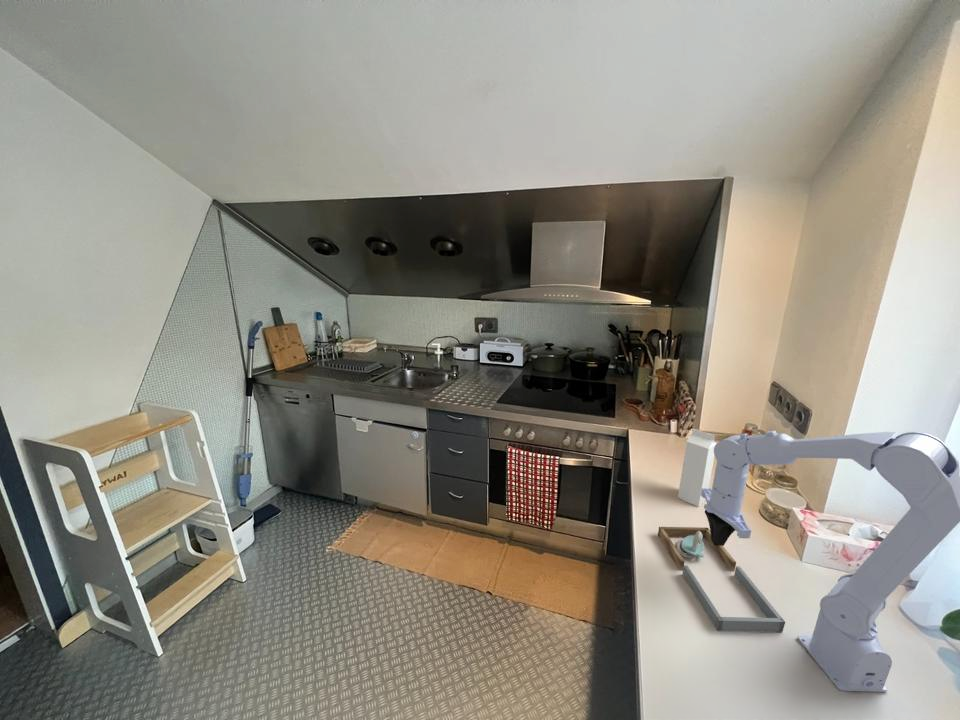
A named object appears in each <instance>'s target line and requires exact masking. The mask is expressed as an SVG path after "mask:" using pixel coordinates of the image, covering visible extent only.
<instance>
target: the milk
mask: <svg viewBox="0 0 960 720" xmlns="http://www.w3.org/2000/svg"><path fill="white" fill-rule="evenodd" d="M691 430H692V432H691V434H690V435H689V437H688V438H687V440H686V445H685V451H684V456H683V463H682V470H681V477H680V481H679V488H678V489H679V490H678V495H677V499H679V498H680V500H681V499H682V501H684V502H686V503H689V504H690V505H692V504H693V505H692V506H694V505H695V507H697V508H699V507H700V506H701V505H703V503H705V502H706V499H705V498H703V497H702V496H701V491H702V488H710V483H711V479H712V478H711V477H712V472H713V467H714V466H713V465H714V461H715V455H714V447H715V445H716V444H717V443H718V442H716V441H715V437H716V436H715V435H714V434H711V433H708V432H705V431H701V430H698V429H696V428H693V429H691Z"/></svg>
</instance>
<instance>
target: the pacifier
mask: <svg viewBox="0 0 960 720" xmlns="http://www.w3.org/2000/svg"><path fill="white" fill-rule="evenodd" d="M703 539H704V538H703V536H702V533H701V532H700V531H697V532H696V534H695V536H694V535H690V536H687V537H685V538H683V539H680V540H678V541H677V542H676V544H675V545H676V546H675V547H676V549H677V550H678V552H679V553H680V555H681V556H682V557H683V558H687V559H689V558H697V557H698V558H704V556H705V555H704V552H703V550H704V548H705V544H704V541H703ZM682 549H683V550H682ZM684 551H685V552H686V553H685V552H684Z"/></svg>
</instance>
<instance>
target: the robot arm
mask: <svg viewBox="0 0 960 720" xmlns="http://www.w3.org/2000/svg"><path fill="white" fill-rule="evenodd" d="M897 434H898V432H896V431H878V432H870V433H869V432H866V433H865V432H864V433H855V434H844V435H843V434H842V435H841V434H840V435H834V436H833V435H832V436H830V435H829V436H821V437H809V438H801V439H800V438H799V439H798V438H797V439H795V438H793V437H792V436H790V435H789V434H787V433H777V431H776V430H769V431H766V432H765V434H757V435H756V434H755V435H754V434H753V435H749V434H748V433H741V434H733V435H731V436H728V437H726V438H724V439H722V440H720V441H719V442H716V443H717V444H716V445H715V447H714V455H715V456H714V458H715V460H716V465H715V470H714V476H713V481H712V487H711V488H710V487H709V488H702V491H701V496H702V497H703V498H705V499H706V501H705V502H706V504H705V503H704V505H703V508H704V509H705V510H704V514H705V516H706V519H707V521H708V525H709V530H710V534H711V541H712V542H713V544H714V545H715V546H723V547H724V546H725V544H726V543H727V541H728V539H729V538H730V537H731V535H732V534H733V533H734V532H735V531H736V536H737V537H738V538H739V539H750V538H751V534H752V529H751V528H750V527H749V526H748V524H747V522H746V519H745V517H744V514H743V511H742V505H743V502H744V497H745V490H746V488H747V487H746V486H747V481H748V476H749V472H750V471H749V469H750V466H751V465H753V466H770V465H772V466H777V465H778V466H779V465H780V466H781V465H783V466H784V465H787V466H788V465H793V464H794V463H795V462H796V461H797V460H798V459H800V458H801V459H802V458H803V459H841V460H842V459H845V460H848V459H849V460H853V462H855V463H856V464H857V465H860V466H861V467H862V468H864V470H867V471H870V472H871V470H872V471H873V469H874V468H875V469H876V471H877V472H878V473H879V475H880V476H881V478H883V479H884V480H885V481H886V482H887V483H888V484H889V485H891V486H892V487H893V488H894V489H895V490H896V491H898V493H900V494H901V495H902V496H903V498H904V499H905V500H906V503H907V504H908V505H909V507H910V508H909V510H908V511H907V512H906V513H905V514H904V515H903V516H902V518H901V519H899V521H898V522H897V523H896V524H895V526H894V527H893V528H892V529H891V530H890V531H889V533H888V534H887V535H886V536H885V537H884V538H883V540H882V541H881V542H880V543H879V544H878V545H877V546H876V547H875V549H874V550H873V551H872V552H871V553H870V554H869V556H868V557H867V558H866V559H865V560H864V561H863V562H862V564H861V565H859V567H858V568H857V569H856V571H854V572H852V573H847V574H843V575H842V576H840V577H839V578H838V580H837V583H835V585H834V586H833V587H832V588H831V589H830V591H829V592H828V593H827V594H826V595H825V594H824V596H823V597H822V598H821V599H820V602H819V607H820V608H819V612H818V616H817V619H816V622H815V626H814V629H813V633H812V635H797V641H799V642H800V643H801V644H802V646H803V647H804V648H805V649H806V651H807V652H808V653H809V654H810V656H811V657H812V658H813V659H814V660H815V662H816V663H817V664H818V665H819V666H820V668H821V669H822V671H824V672H825V674H826V675H827V676H828V678H829V679H830V680H831V681H832V683H834V685H835V686H836V687H837V689H839V691H843V692H882V693H885V692H886V693H887V692H888V688H887V687H886V685H885V684H886V681H887V679H888V676H889V673H890V670H891V668H892V665H893V660H892V657H890V655H889V653H888V652H887V651H886V649H884V647H883V645H882V644H881V642H880V639H879V637H878V632H879V631H878V628H877V624H876V619H877V618H878V617H879V615H880V613H881V612H882V611H884V609H886V606H887V598H888V597H889V596H890V595H891V594H892V593H893V592H894V591H895V590H896V589H897V588H898V587H899V586H900V585H901V584H902V583H903V582H904V581H905V579H907V577H908V576H910V574H911V573H912V572H913V571H914V570H915V569H916V568H917V567H918V566H919V565H920V564H921V563H922V562H923V561H924V560H925V559H926V557H928V556H929V555H930V554H931V552H932V551H933V550H935V548H936V547H937V546H938V545H939V544H940V543H941V542H942V541H943V540H944V539H945V538H946V537H947V536H948V535H950V532H952V531H953V530H954V528H956V526H957V525H959V523H960V461H959V460H958V459H957V457H956V456H955V455H954V454H953V452H952V451H951V449H950V448H949V447H948V445H947V444H946V443H945V442H943V440H941V439H940V438H938V437H937V436H935V435H931V434H929V433H927V432H926V433H925V432H920V431H908V432H907V431H906V432H903V433H901V434H898V435H897ZM896 435H897V436H896ZM894 436H895V437H894Z"/></svg>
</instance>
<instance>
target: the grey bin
mask: <svg viewBox="0 0 960 720" xmlns="http://www.w3.org/2000/svg"><path fill="white" fill-rule="evenodd" d="M681 573H682V577H683V578H684V580H685V581H686V583H687V585H688V586H689V588H690V589H691V591H692V592H693V594H694V596H695V598H696V599H697V601H698V602H699V604H700V605H701V607H702V608H703V611H704V612H705V613H706V615H707V617H708V619H710V621H711V623H712V624H713V626H714V628H715V630H716V631H717V632H752V633H753V632H758V633H760V632H761V633H762V632H763V633H764V632H765V633H768V632H769V633H770V632H771V633H783V632H784V627H785V624H786V621H785V620H784V618H783V617H782V616H781V615H780V613H779V612H778V611H777V610H776V609H775V607H774V606H773V605H772V604H771V602H770V601H769V600H768V599H767V598H766V597H765V596H764V594H763V593H762V591H761V590H760V589H759V588H758V587H757V586H756V585H755V583H754V582H753V581H752V580H751V579H750V577H749V576H748V575H747V574H746V572H745V571H744V570H743V569H742V567H741V566H738V565H737V566H735V571H734V573H733V574H734V575H733V576H734V577H735V578H736V580H737V581H738V583H740V585H741V587H743V589H744V590H745V591H746V593H747V594H748V596H749V597H750V598H751V599H752V600H753V601H754V603H755V604H756V605H757V607H758V608H759V609H760V610H761V612H762V613H763V614H764V615H765V617H740V616H739V617H738V616H737V617H735V616H732V617H731V616H721V614H720V613H719V611H718V609H717V608H716V607H715V605H714V604H713V603H712V601H711V600H710V597H709V596H708V595H707V593H706V591H705V590H704V588H703V587H702V585H701V584H700V583H699V581H698V579H697V578H696V576H695V575H694V574H693V572H692V570H691V568H689V565H687V564H686V565H685V564H684V568H683V570H682V572H681Z"/></svg>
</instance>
